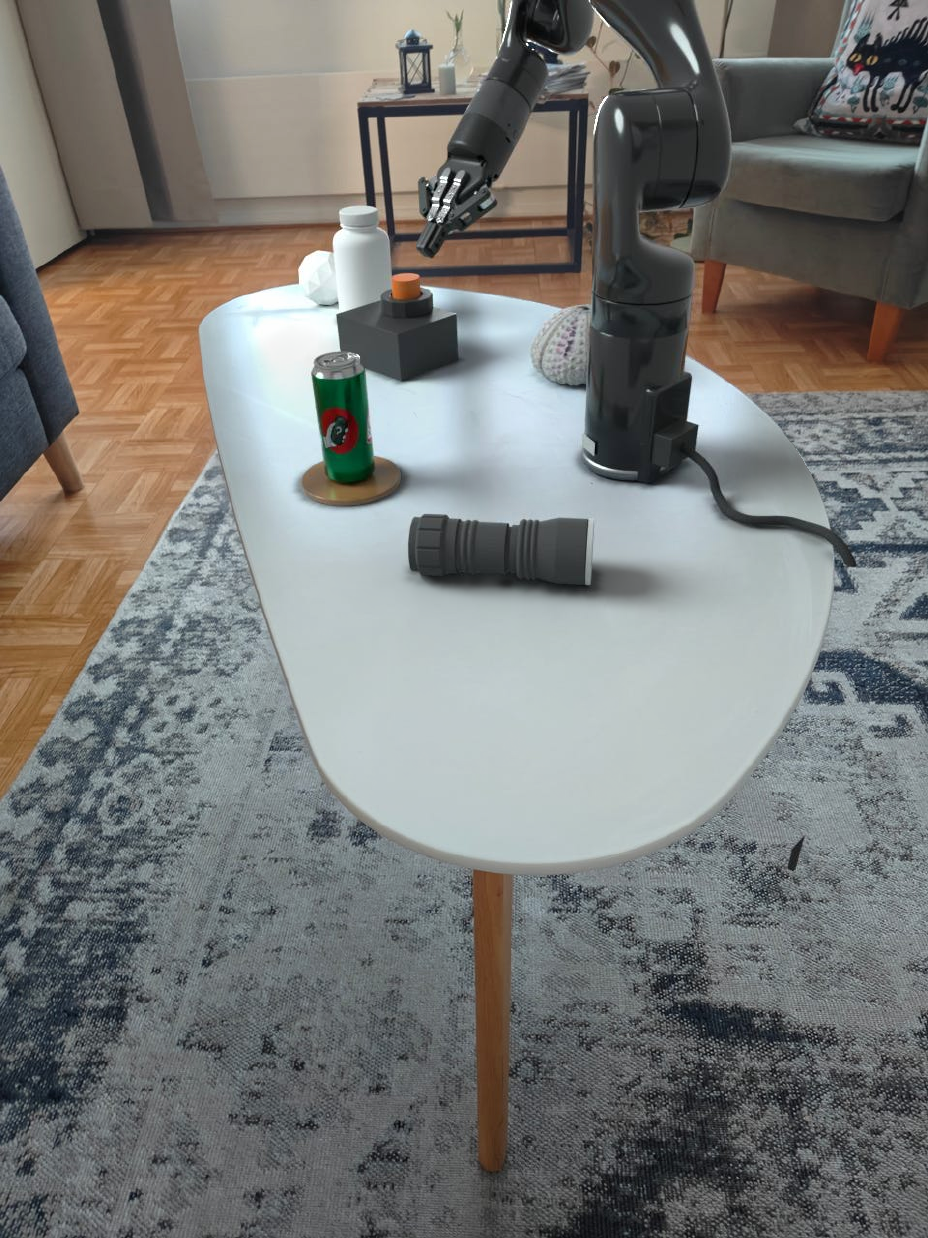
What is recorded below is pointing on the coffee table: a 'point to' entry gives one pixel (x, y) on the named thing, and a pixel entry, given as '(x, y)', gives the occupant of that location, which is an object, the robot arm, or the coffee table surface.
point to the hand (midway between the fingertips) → (424, 253)
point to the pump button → (406, 286)
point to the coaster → (351, 485)
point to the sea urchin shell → (564, 346)
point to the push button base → (400, 335)
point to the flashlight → (503, 548)
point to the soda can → (343, 417)
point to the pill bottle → (361, 258)
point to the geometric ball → (319, 278)
